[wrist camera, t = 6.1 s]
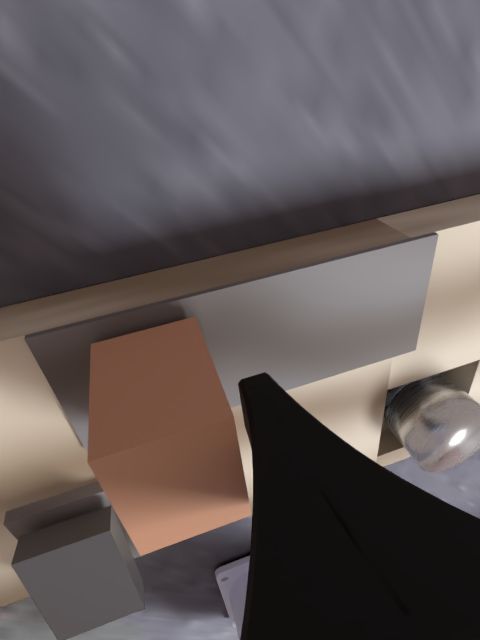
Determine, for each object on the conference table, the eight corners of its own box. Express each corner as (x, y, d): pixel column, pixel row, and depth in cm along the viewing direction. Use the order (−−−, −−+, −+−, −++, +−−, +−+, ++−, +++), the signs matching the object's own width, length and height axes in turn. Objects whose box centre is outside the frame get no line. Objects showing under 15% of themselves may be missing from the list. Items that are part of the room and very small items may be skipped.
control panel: (493, 391, 23) (530, 422, 21) (-39, 577, 18) (-56, 640, 16) (577, 170, 16) (645, 186, 14) (-288, 375, 11) (-377, 447, 9)
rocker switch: (143, 581, 16) (144, 608, 15) (63, 611, 15) (59, 642, 14) (111, 505, 14) (110, 530, 13) (19, 536, 14) (10, 565, 13)
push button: (444, 417, 20) (481, 455, 18) (381, 439, 20) (412, 481, 18) (460, 364, 18) (504, 400, 16) (389, 387, 18) (426, 428, 16)
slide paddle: (215, 409, 14) (251, 515, 10) (130, 435, 13) (140, 555, 10) (195, 316, 11) (233, 415, 8) (90, 344, 11) (87, 462, 8)
